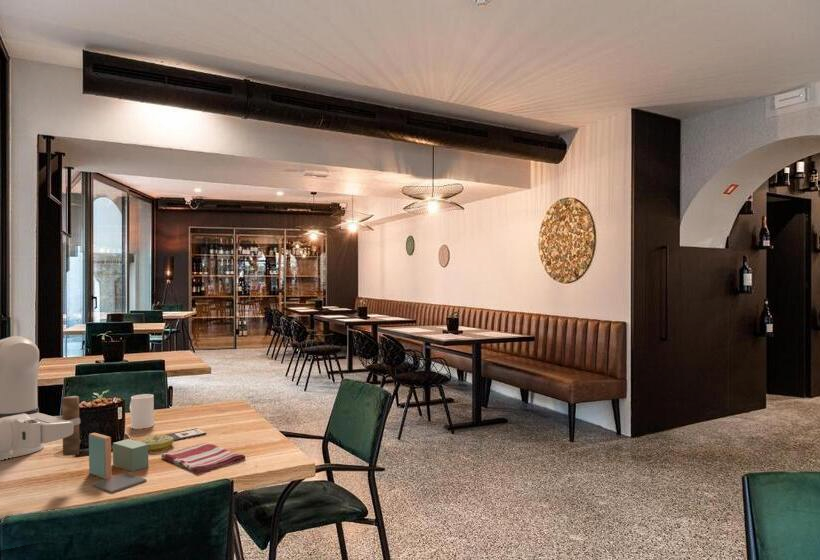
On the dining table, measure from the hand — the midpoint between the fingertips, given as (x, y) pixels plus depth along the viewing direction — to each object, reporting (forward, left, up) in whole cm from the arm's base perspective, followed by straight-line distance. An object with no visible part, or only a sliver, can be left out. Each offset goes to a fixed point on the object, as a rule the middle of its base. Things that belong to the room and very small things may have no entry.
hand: (74, 419), depth 153 cm
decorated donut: (+14, +30, -19) cm, 38 cm away
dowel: (-1, -1, -9) cm, 10 cm away
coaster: (+13, -3, -18) cm, 23 cm away
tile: (+5, +5, -18) cm, 20 cm away
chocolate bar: (+18, +42, -19) cm, 49 cm away
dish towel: (+32, +15, -19) cm, 40 cm away
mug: (-1, +61, -19) cm, 64 cm away
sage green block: (+11, +12, -18) cm, 25 cm away
